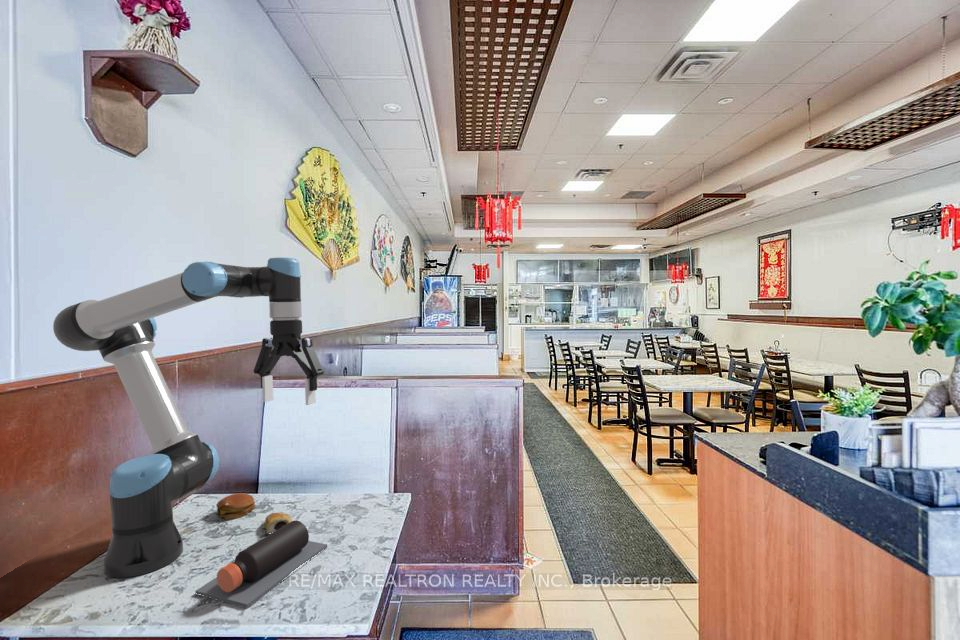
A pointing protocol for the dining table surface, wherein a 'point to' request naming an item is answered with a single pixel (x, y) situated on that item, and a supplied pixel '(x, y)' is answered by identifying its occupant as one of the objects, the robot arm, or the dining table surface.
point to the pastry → (276, 521)
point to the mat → (261, 579)
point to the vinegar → (263, 556)
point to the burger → (235, 506)
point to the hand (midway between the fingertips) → (289, 402)
